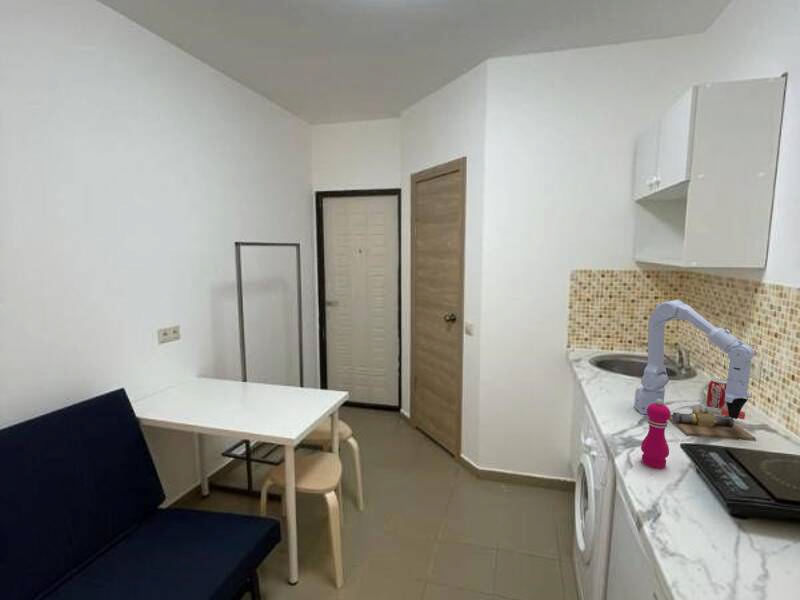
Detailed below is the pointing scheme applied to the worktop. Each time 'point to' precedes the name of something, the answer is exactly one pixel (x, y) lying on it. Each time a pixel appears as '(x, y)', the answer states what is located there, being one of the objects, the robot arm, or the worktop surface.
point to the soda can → (716, 393)
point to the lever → (720, 411)
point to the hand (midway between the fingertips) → (733, 418)
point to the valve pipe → (703, 419)
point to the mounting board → (714, 431)
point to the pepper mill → (656, 436)
